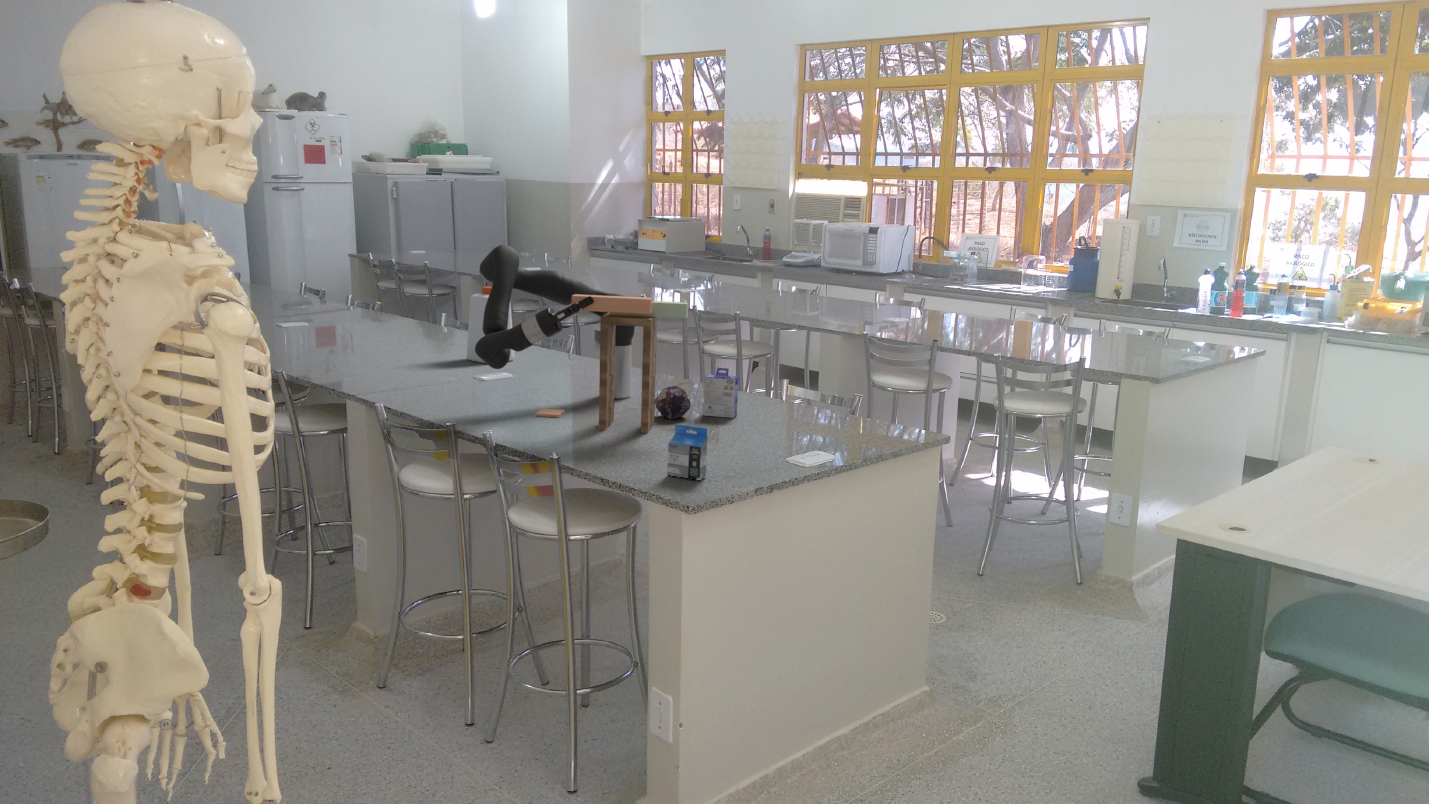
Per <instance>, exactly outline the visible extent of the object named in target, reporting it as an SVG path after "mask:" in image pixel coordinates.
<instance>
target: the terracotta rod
mask: <svg viewBox="0 0 1429 804" xmlns="http://www.w3.org/2000/svg"><path fill="white" fill-rule="evenodd" d="M589 296H592V298H593V300H594V303H593V304H591V305H589V306H587V307H585V308H582V310H581V311H580V312H590V311H599V312H619V313H640V314H651V313H652V304H653V301H654V299H653V297H644V296H643V297H640V296H639V297H637V296H627V297H622V296H601V295H580V294H574V295H572V304H575V302H579V301H581V300H583V299H585V298H587V297H589Z"/></svg>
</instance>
